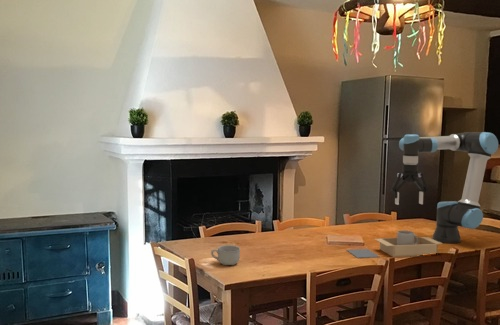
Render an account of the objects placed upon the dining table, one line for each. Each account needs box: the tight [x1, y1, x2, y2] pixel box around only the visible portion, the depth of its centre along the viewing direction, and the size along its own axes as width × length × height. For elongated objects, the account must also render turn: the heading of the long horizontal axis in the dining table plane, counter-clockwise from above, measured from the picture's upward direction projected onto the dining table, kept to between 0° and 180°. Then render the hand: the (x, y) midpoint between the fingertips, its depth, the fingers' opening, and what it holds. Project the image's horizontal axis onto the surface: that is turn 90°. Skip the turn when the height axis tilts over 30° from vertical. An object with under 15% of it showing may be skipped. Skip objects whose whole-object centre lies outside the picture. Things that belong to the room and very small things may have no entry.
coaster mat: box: [346, 248, 380, 259], centre depth 248 cm, size 12×15×1 cm
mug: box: [396, 230, 418, 245], centre depth 251 cm, size 12×8×11 cm
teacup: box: [210, 244, 241, 266], centre depth 228 cm, size 14×11×8 cm
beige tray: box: [374, 236, 444, 258], centre depth 252 cm, size 31×17×6 cm, turn 100°
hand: (408, 204), depth 250 cm, fingers open, 13 cm apart
